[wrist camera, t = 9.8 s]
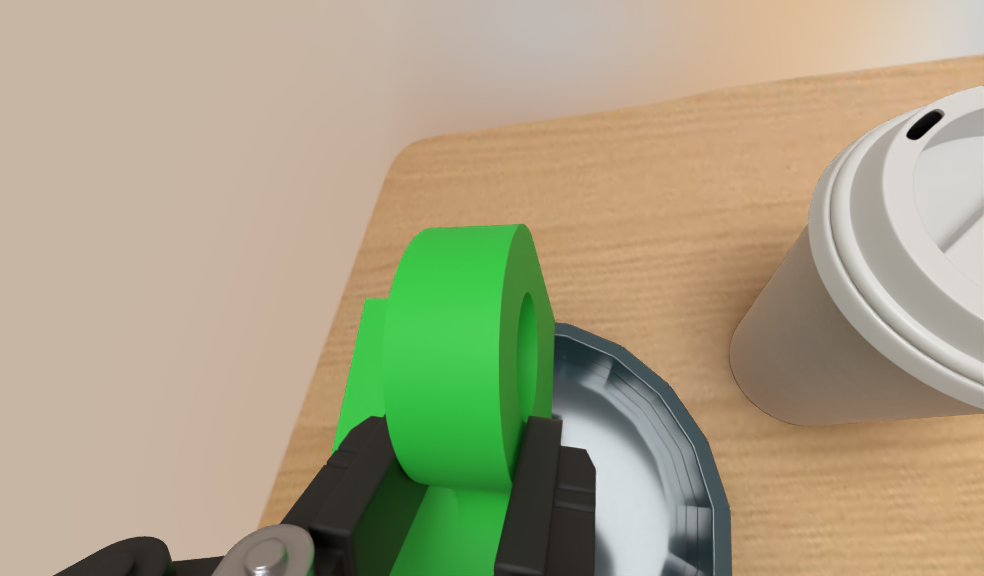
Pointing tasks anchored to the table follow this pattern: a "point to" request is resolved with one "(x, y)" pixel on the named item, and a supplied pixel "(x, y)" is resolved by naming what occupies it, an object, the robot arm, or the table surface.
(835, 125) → the table surface
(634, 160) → the table surface
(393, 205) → the table surface
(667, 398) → the pot
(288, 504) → the table surface
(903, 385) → the coffee cup
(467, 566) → the mechanical part
